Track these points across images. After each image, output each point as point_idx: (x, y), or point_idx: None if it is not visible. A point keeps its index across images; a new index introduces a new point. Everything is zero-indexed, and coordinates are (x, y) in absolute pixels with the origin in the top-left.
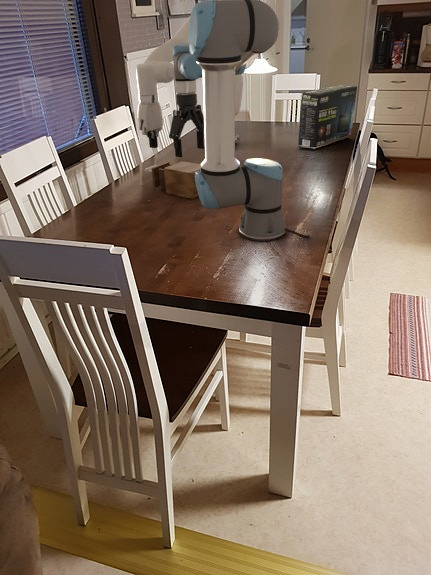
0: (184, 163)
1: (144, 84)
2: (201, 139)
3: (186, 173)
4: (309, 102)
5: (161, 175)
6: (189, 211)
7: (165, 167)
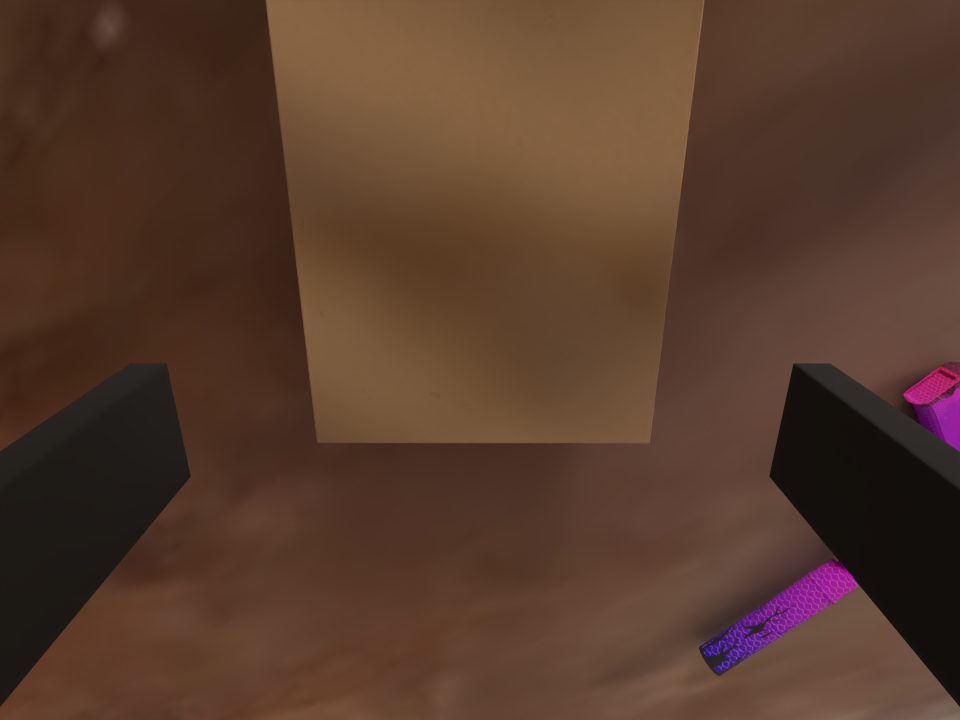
0: (613, 114)
1: None
2: (878, 576)
3: (313, 384)
4: None
5: None
6: None
7: None
